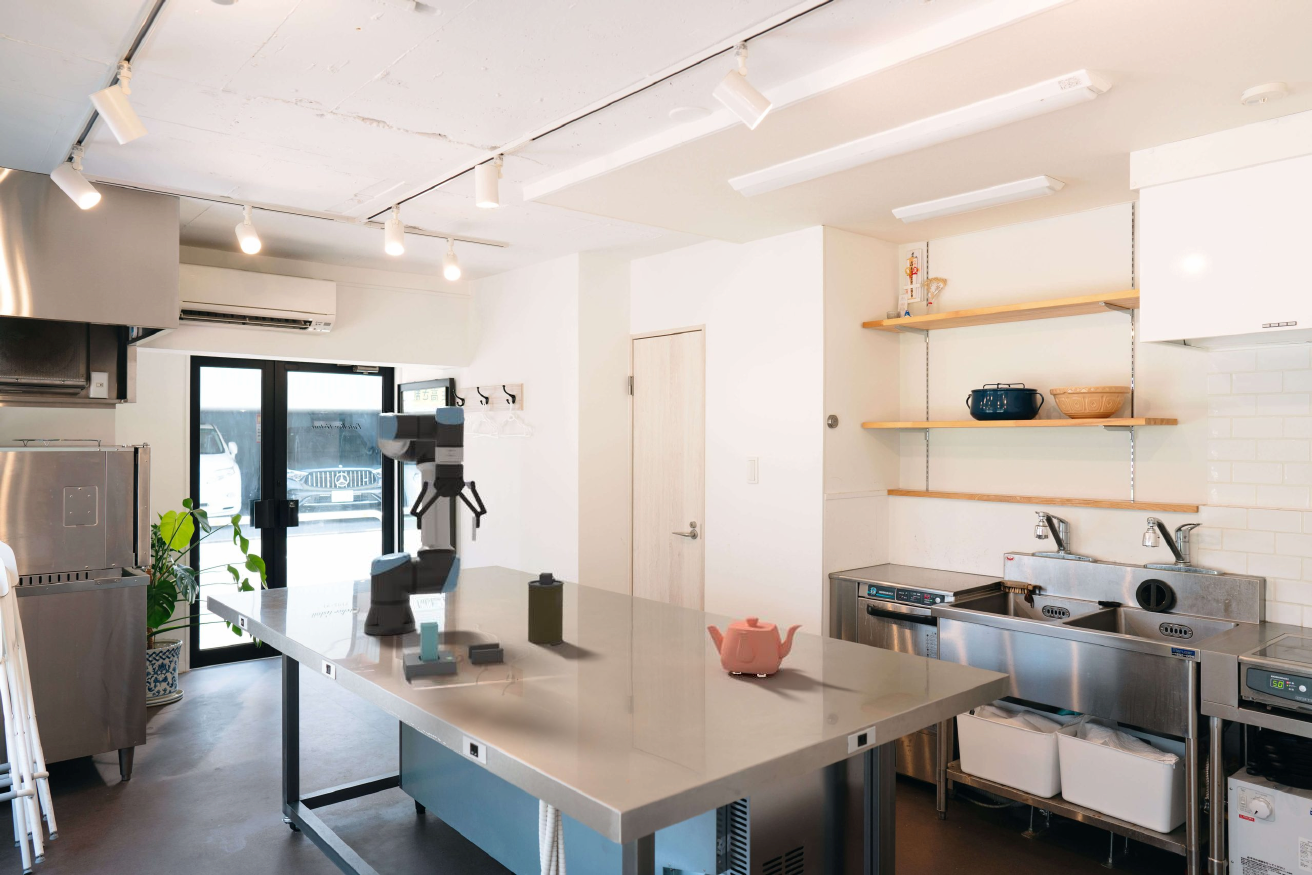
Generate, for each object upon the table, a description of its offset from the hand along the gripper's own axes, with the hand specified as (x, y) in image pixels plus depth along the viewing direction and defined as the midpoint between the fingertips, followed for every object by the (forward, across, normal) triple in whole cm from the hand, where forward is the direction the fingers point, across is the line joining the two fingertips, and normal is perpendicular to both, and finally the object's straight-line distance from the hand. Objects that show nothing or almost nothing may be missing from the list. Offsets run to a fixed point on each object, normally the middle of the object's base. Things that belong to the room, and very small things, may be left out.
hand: (448, 541), depth 228 cm
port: (+31, -6, -15) cm, 35 cm away
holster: (+31, +9, -10) cm, 34 cm away
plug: (+31, -6, -15) cm, 35 cm away
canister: (+31, +29, +7) cm, 43 cm away
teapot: (+31, +72, -41) cm, 89 cm away
